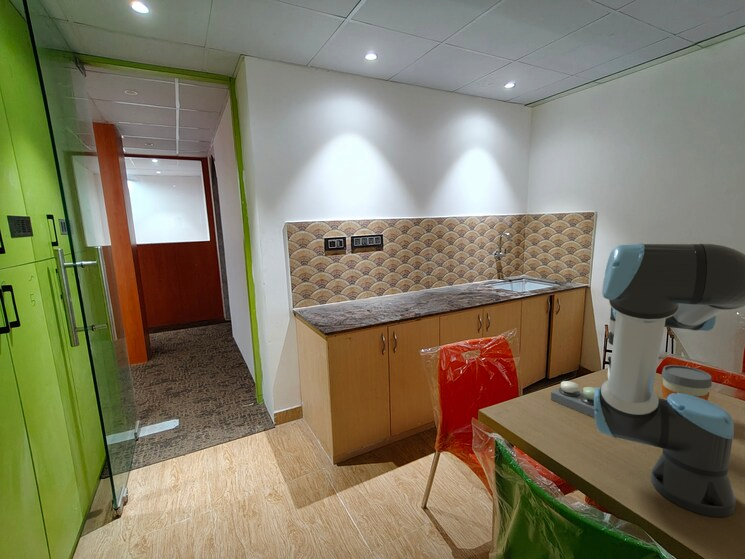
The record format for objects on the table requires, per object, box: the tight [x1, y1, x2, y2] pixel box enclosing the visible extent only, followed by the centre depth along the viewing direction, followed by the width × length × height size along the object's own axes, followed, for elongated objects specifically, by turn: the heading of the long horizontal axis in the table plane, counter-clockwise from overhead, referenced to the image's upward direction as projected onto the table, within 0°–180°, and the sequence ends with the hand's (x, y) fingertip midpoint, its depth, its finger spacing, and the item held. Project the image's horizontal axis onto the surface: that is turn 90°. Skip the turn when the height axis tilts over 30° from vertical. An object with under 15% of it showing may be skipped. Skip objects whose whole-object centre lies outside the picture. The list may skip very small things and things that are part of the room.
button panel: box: [550, 387, 595, 419], centre depth 123 cm, size 10×24×4 cm, turn 32°
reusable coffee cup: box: [661, 364, 713, 401], centre depth 118 cm, size 13×13×15 cm
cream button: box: [560, 380, 579, 393], centre depth 130 cm, size 6×6×2 cm
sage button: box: [582, 386, 596, 400], centre depth 123 cm, size 6×6×2 cm
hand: (617, 401), depth 116 cm, fingers closed
